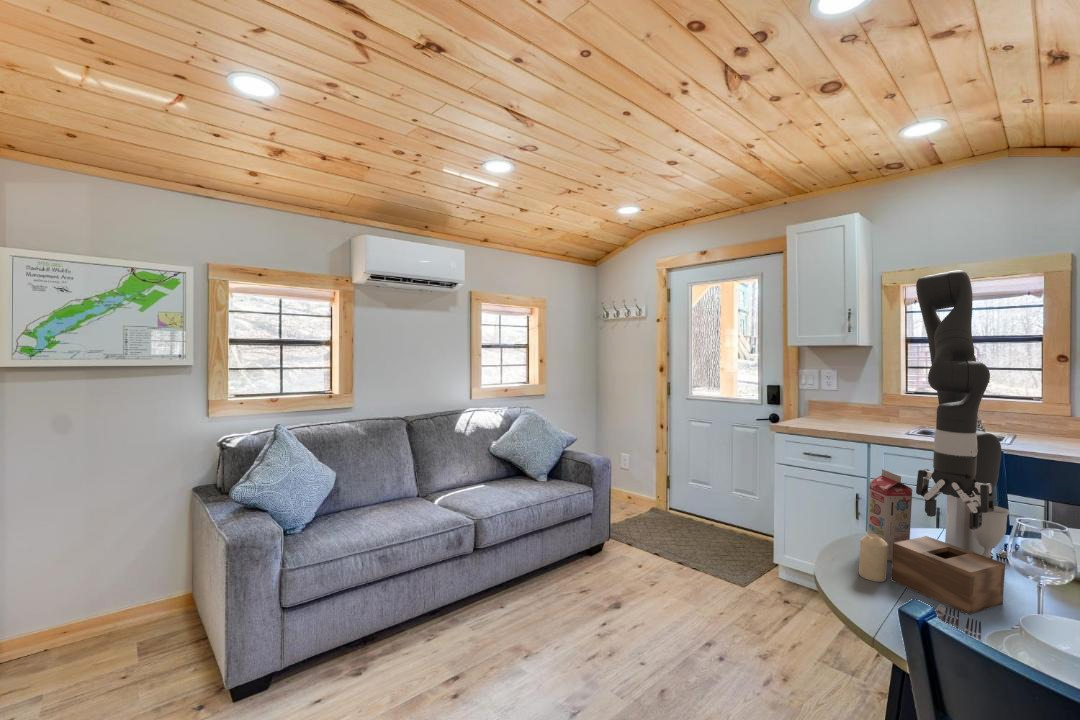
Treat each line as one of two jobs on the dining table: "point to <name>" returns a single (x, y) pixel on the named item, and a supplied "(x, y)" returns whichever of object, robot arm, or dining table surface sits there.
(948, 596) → the box
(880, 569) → the candle
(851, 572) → the dining table surface
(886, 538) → the juice carton
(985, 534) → the chalice
